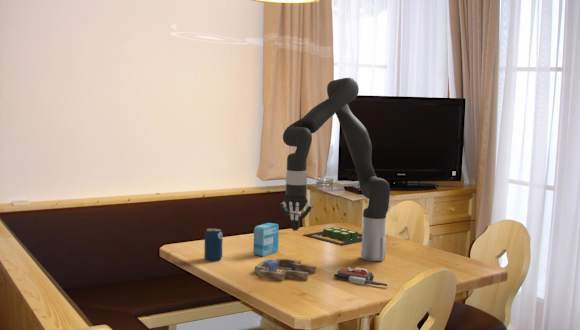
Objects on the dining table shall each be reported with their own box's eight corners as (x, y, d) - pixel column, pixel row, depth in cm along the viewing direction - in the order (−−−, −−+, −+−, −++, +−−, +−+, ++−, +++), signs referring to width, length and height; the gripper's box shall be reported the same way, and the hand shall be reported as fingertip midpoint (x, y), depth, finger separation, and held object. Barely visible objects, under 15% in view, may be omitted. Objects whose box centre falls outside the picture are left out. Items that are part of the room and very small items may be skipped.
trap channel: (319, 269, 224) (319, 262, 224) (302, 284, 205) (303, 276, 205) (270, 263, 231) (270, 256, 230) (249, 276, 212) (249, 269, 212)
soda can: (225, 259, 233) (226, 229, 232) (212, 262, 228) (212, 232, 227) (214, 256, 238) (214, 226, 237) (200, 259, 233) (201, 229, 232)
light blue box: (262, 257, 239) (263, 228, 238) (253, 255, 241) (253, 226, 240) (278, 251, 249) (279, 223, 248) (269, 250, 251) (270, 222, 250)
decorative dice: (262, 271, 219) (262, 260, 219) (269, 269, 222) (270, 258, 222) (270, 273, 217) (270, 262, 216) (277, 271, 220) (278, 260, 219)
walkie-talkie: (331, 280, 211) (386, 290, 203) (331, 268, 211) (386, 277, 202) (340, 274, 219) (393, 283, 211) (340, 263, 219) (393, 271, 210)
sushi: (302, 236, 281) (302, 229, 281) (338, 230, 298) (338, 223, 298) (341, 247, 263) (342, 238, 263) (377, 239, 280) (378, 232, 280)
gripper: (317, 182, 215) (315, 229, 217) (282, 180, 219) (281, 226, 221) (310, 185, 208) (309, 234, 209) (275, 182, 212) (274, 230, 214)
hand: (295, 230), depth 215 cm, fingers closed
